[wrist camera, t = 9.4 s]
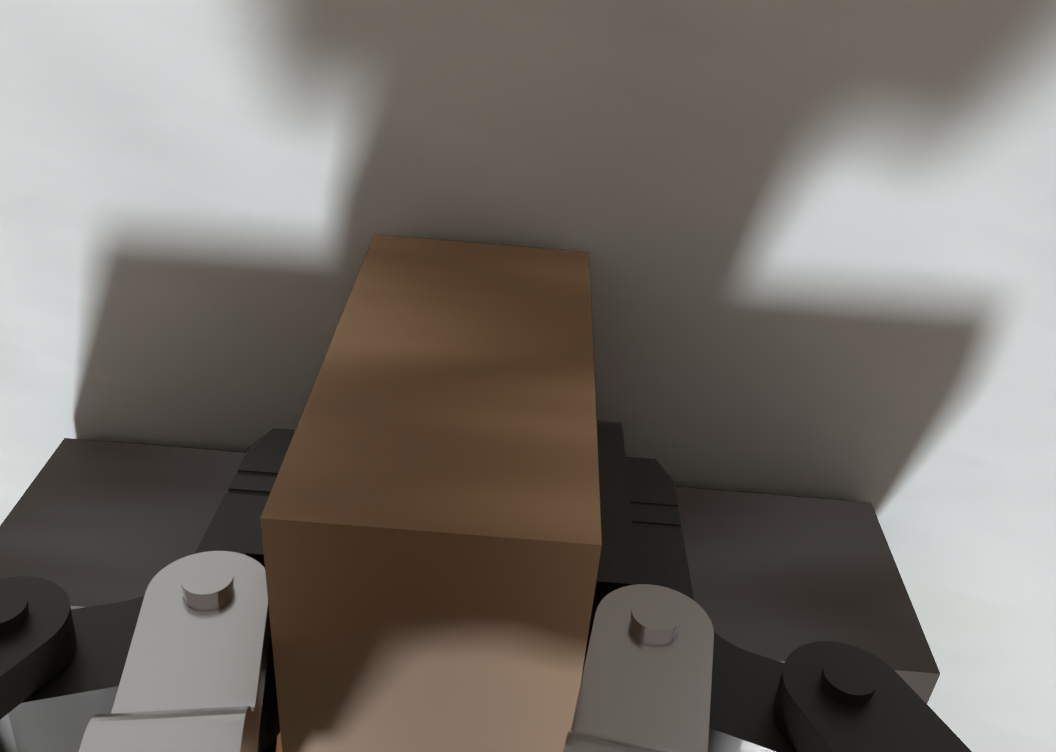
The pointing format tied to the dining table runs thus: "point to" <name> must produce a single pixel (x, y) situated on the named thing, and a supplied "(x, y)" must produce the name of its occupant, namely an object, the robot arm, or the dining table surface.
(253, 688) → the robot arm
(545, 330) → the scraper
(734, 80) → the dining table surface
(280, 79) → the dining table surface
